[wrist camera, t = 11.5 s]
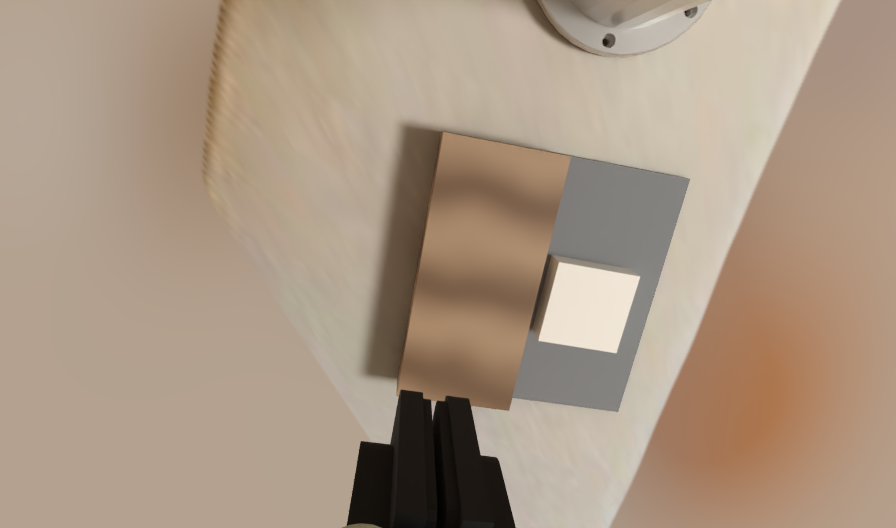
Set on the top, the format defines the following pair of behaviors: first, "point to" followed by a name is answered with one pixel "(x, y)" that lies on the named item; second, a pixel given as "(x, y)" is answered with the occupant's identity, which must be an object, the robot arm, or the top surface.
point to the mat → (612, 243)
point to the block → (584, 304)
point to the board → (479, 268)
